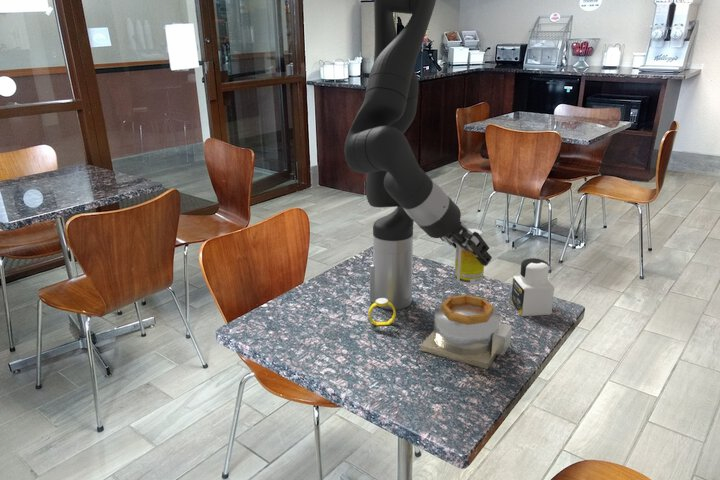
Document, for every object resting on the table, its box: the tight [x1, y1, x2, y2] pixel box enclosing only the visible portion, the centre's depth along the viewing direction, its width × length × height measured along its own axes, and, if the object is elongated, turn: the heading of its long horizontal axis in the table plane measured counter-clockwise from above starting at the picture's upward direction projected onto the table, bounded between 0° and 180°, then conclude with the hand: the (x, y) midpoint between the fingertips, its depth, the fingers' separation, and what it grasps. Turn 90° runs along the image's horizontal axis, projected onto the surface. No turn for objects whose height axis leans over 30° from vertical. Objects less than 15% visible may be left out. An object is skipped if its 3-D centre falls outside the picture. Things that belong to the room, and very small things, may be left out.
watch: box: [368, 298, 397, 327], centre depth 122 cm, size 6×3×6 cm, turn 95°
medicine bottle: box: [510, 257, 555, 317], centre depth 126 cm, size 7×7×12 cm
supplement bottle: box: [454, 228, 485, 286], centre depth 108 cm, size 6×6×10 cm
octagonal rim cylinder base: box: [420, 294, 513, 370], centre depth 113 cm, size 16×14×9 cm
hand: (476, 256), depth 109 cm, fingers closed on supplement bottle, 5 cm apart
